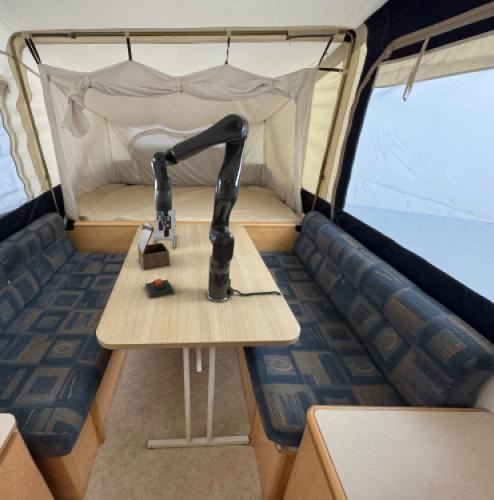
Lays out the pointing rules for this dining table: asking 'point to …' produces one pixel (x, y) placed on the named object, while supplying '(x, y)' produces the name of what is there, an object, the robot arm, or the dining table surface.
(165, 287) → the control block
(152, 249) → the chest
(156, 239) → the chair
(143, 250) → the lid
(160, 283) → the button
